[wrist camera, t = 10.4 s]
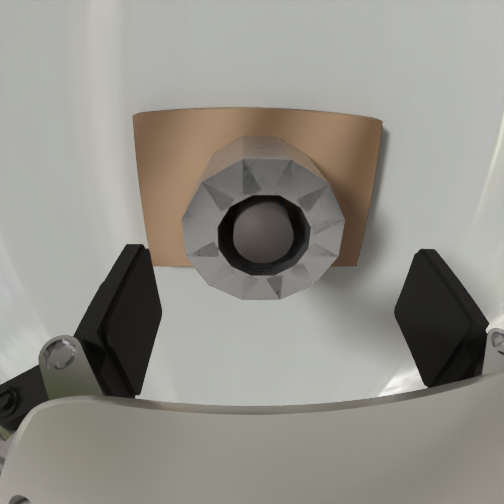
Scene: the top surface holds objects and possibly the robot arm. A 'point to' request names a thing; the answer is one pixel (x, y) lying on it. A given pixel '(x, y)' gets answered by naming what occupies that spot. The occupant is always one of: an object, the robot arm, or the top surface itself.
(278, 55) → the top surface
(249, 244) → the post block
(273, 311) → the top surface
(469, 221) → the top surface
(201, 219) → the steel ring
